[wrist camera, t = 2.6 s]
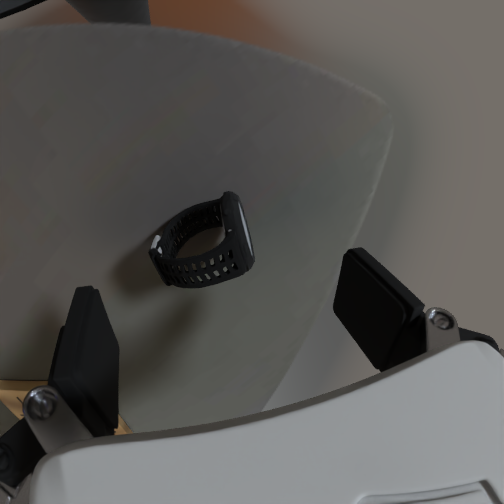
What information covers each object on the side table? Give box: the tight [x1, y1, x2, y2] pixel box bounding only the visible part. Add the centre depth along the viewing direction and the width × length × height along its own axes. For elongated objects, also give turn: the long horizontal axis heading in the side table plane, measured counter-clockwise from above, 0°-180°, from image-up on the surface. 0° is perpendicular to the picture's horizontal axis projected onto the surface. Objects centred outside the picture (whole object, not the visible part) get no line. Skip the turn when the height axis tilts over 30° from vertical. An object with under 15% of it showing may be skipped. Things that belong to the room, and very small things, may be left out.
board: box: [0, 380, 133, 435], centre depth 22 cm, size 16×12×1 cm
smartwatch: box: [148, 191, 255, 288], centre depth 14 cm, size 4×5×5 cm
